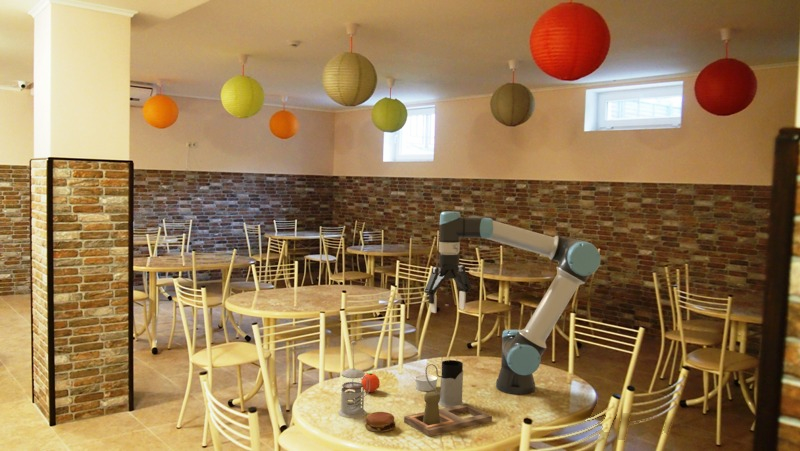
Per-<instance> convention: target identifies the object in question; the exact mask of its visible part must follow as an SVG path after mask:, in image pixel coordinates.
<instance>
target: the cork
mask: <svg viewBox="0 0 800 451" xmlns="http://www.w3.org/2000/svg"><path fill="white" fill-rule="evenodd" d="M423 398H424V399H423V400H424V402H425V407H424V411H423V412H424V418H423V423H425V424H427V425H433V424H437V423H440V416H439V409H440V407H439V406H440V405H439V402H440V395H439V394H438V393H437V392H436V391H426V393H425V394H424V397H423Z"/></svg>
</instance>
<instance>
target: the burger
mask: <svg viewBox="0 0 800 451" xmlns="http://www.w3.org/2000/svg"><path fill="white" fill-rule="evenodd" d="M364 426H365V429H366V430H367V431H369V432H375V433H376V432H377V433H380V432H381V433H384V432H385V433H386V432H389V431H392V430H394V428H395V427H396V422H395V416H394V415H393V414H392V413H390V412H387V411H386V412H385V411H375V412H371V413H369V414H368V415H367V416H366V417H365V424H364Z"/></svg>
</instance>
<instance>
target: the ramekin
mask: <svg viewBox="0 0 800 451" xmlns="http://www.w3.org/2000/svg"><path fill="white" fill-rule="evenodd" d="M427 377H428V380H429V382H430V383H431V385H432V386H433V387H434V388H435V389H436V390H437V382H438V376H437V375H433V374H427ZM414 382H415V386H414V387H415V389H417V390H418V391H421V392H434V391H435V390H434V389H433V388H432V387H431V386H430V385H429V383H428V381H427V378H426V373H424V374H417V375H415V376H414Z"/></svg>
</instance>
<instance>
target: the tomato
mask: <svg viewBox="0 0 800 451" xmlns="http://www.w3.org/2000/svg"><path fill="white" fill-rule="evenodd" d="M364 376H366V377H367V378H368V379H369V380H368V379H367V378H365V377H364ZM364 376H363V377H364V380H361V382H360V383H361V384H363V387H362V388H363V389H364V391H365V390H366V387H367V390H366V392H367V393H368V391H369V393H373V392H375V391H377V390H378V388H379V386H380V379H379V377H378V375H376V374H375V373H373V372H367V373H365V375H364ZM363 377H361V379H363ZM366 379H367V381H366ZM369 381H370V390H369ZM367 382H368V383H367Z"/></svg>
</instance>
